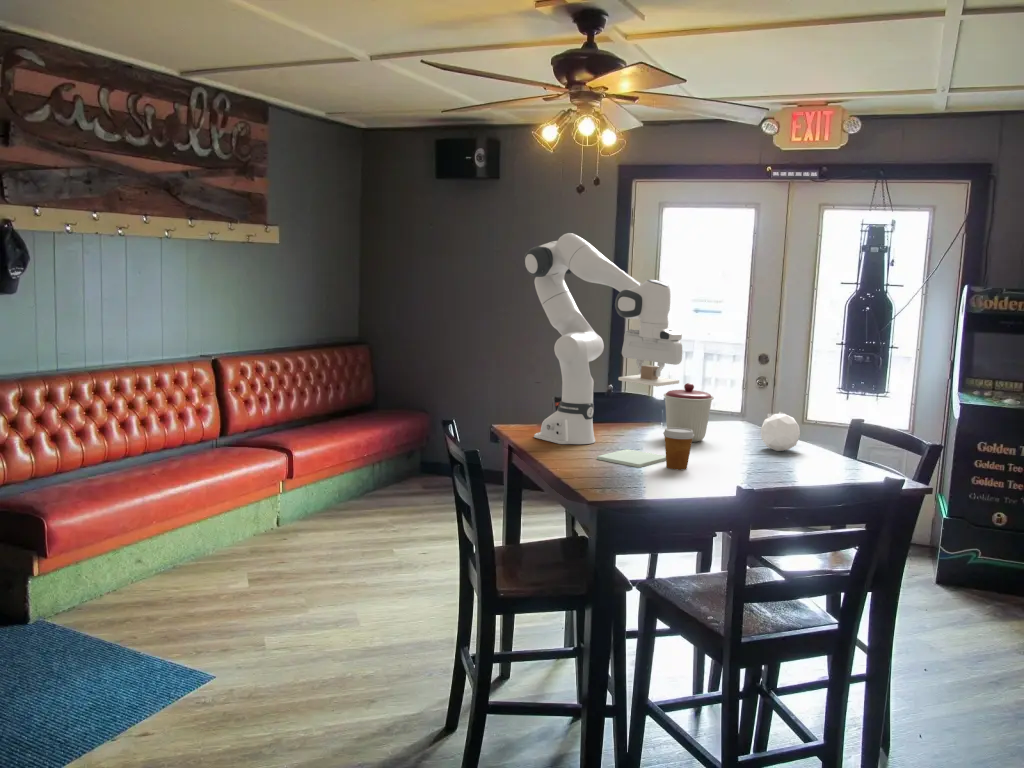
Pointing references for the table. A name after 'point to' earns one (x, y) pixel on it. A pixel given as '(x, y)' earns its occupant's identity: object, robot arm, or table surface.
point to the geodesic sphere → (780, 432)
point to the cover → (648, 377)
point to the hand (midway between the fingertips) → (649, 375)
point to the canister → (688, 410)
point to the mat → (632, 458)
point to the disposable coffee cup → (677, 447)
